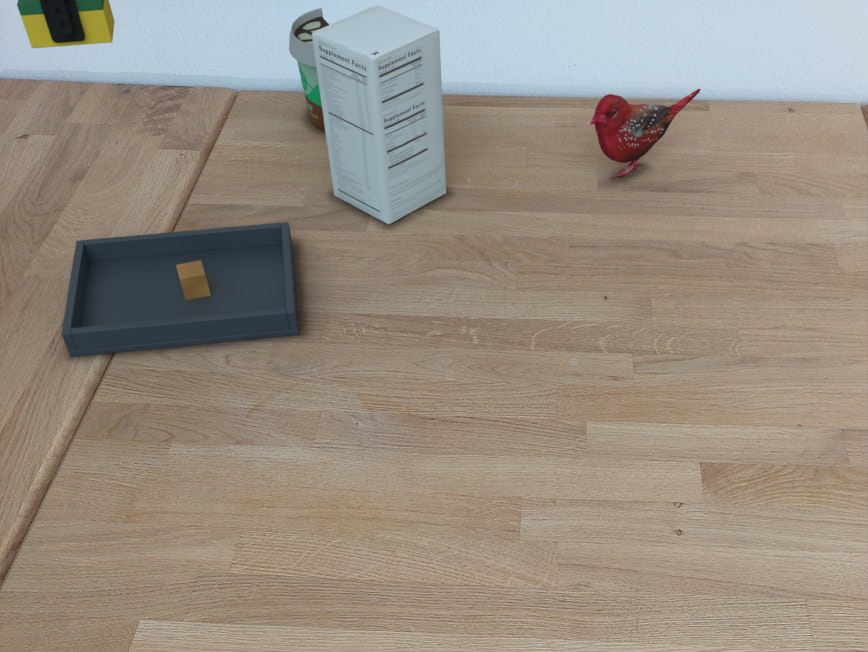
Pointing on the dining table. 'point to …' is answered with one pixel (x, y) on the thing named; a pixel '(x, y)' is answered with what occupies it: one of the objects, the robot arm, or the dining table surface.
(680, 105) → the decorative bird figurine
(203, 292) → the small brown block
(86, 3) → the sponge
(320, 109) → the food container
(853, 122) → the dining table surface
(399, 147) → the supplement box
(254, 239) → the tray
